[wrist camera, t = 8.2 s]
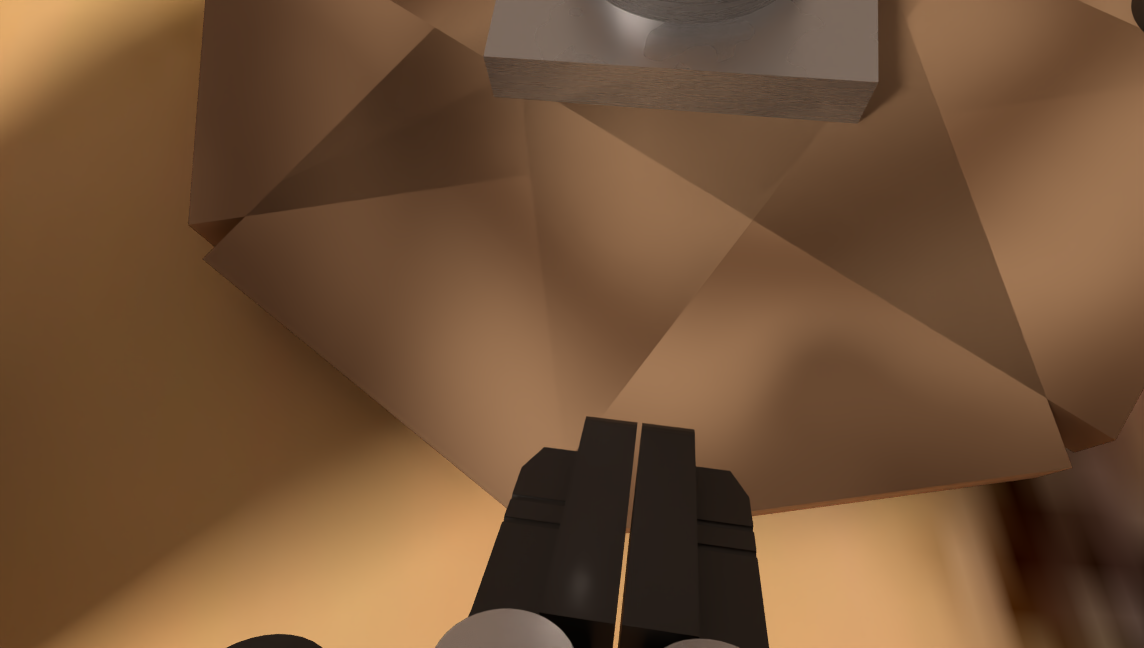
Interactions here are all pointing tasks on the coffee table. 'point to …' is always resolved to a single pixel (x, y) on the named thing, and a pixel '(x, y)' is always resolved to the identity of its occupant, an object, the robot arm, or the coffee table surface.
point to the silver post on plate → (690, 55)
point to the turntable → (698, 244)
